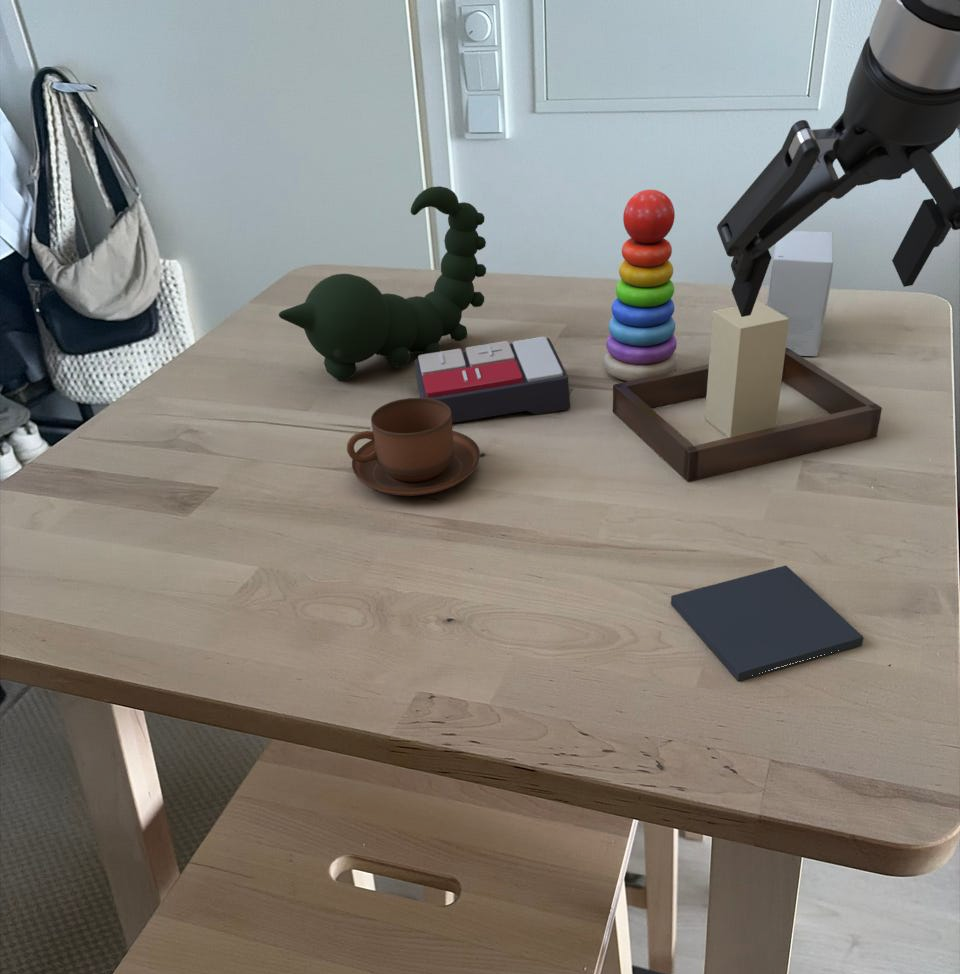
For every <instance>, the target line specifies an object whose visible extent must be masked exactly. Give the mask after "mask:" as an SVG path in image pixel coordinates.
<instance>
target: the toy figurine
mask: <svg viewBox="0 0 960 974" xmlns="http://www.w3.org/2000/svg"><path fill="white" fill-rule="evenodd" d="M430 207H431V208H435V209H436V210H437V211H438V212H440V213H442V214H444V215H448V216H447V222H448V223H447V224H448V226H449V228H448V229H447V230H446V233H445V235H444V240H443V242H444V246H445V247H444V248H445V250H446V252H445V253H444V255H443V257H442V258H441V261H440V272H441V273H440V275H439V276H438V278H437V279H436V281H435V283H434V286H433V291H429V292H428V293H427V294H425V296H419V295H418V296H417V295H415V296H409V297H406V298H405V297H403V296H401V295H398V294H396V293H388V292H387V293H382V292H381V290H379V288H378V287H377V286H376V285H375V284H373V283H372V282H370V280H369V279H366V278H364V277H362V276H359V275H356V274H351V273H337V274H332V275H330V276H328V277H325V278H324V279H322V280H320V281H319V282H318V283H317V284H316V285H315V286H314V287H313V288H312V289H311V290H310V291H309V293H308V295H307V297H306V299H305V301H304V302H302V303H300V304H297V305H295V306H292V307H289V308H286V309H284V310H281V311H280V312H279V313H278V317H279V318H281V320H283V321H286V322H288V323H290V324H293V325H295V326H296V327H299V328H301V329H303V330H304V333H305V335H306V338H307V340H308V341H309V342H308V343H310V345H311V346H312V348H314V350H315V351H316V352H317V353H319V355H320V356H322V357H324V362H323V365H324V367H325V370H326V372H327V373H328V374H329V375H331V376H332V377H333V378H334V379H336V380H340V381H348V380H350V379H352V377H353V376H354V375H355V374H356V372H357V365H356V364H357V363H362V362H365V361H367V360H369V359H370V358H372V357H373V356H374V355H377V356H382V357H387V358H386V359H387V361H388V364H390V365H392V366H394V367H396V368H402V367H404V366H407V365H408V363H409V361H410V358H411V355H410V352H412V353H419V354H420V353H422V355H423V354H429V353H435V352H441V347H440V345H439V342H440V341H441V340H442V338H443V337H446V336H450V339H451V340H453V341H455V342H459V343H461V342H463V341H464V340H465V339H467V337H468V329H467V326H465V325H463V324H461V323H460V322H461V320H462V316H463V311H465V310H466V309H468V308H469V306H470V305H471V306H472V307H473V308H481V307H482V306H483V305H484V303H485V296H484V295H483V293H482V292H481V291H475V286H474V283H473V281H474V280H476V278H482V277H485V275H486V274H487V267H486V266H485V264H483V263H478V259H477V257H476V254H477V253H478V251H481V250H483V249H484V248H485V247H486V246H487V241H486V239H485V237H484V236H481V235H479V233H478V231H477V229H478V227H479V226H482V225H483V224H484V223H485V218H486V217H485V215H484V214H483V213H482V212H479V211H478V209H477V208H476V207H475V206H474V205H473V204H471V203H469V202H466V201H465V202H464V201H463V202H462V201H461V202H459V198H458V196H457V195H456V193H455V192H454V191H453V190H452V189H450V188H448V187H445V186H442V185H439V186H430V187H427V188H425V189H423V190H422V191H420V193H419V194H418V195H417V196H416V197H415V199H414V200H413V203H412V204H411V207H410V214H411V216H416V215H417V214H419V213H420V212H421V211H422V210H424V209H425V208H430Z"/></svg>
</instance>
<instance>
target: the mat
mask: <svg viewBox="0 0 960 974" xmlns="http://www.w3.org/2000/svg"><path fill="white" fill-rule="evenodd" d="M670 605H671V606H672V607H673V608H674V610H675V611H676V612H677V613H678V614H679V615H680V616H681V618H682V619H683V620H684V621H685V622H686V623H687V625H688V626H689V627H690V628H691V629H692V630H693V631H694V633H695V634H696V635H697V636H698V637H699V638H700V639H701V641H702V642H703V643H704V644H705V645H706V647H707V648H709V650H710V651H711V652H712V653H713V654H714V655H715V656H716V658H717V659H718V660H719V661H720V663H721V664H722V665H723V666H724V667H725V668H726V670H728V672H729V673H730V674H731V675H732V676H733V677H734V678H735V680H736V681H737V682H741V681H745V680H748V679H751V678H754V677H755V678H756V677H758V676H762V675H765V674H768V673H771V672H775V671H780V670H783V669H786V668H789V667H792V666H796V665H799V664H800V665H801V664H803V663H807V662H811V661H814V660H816V659H821V658H824V657H827V656H830V655H831V656H832V655H833V654H834V655H835V654H838V653H841V652H844V651H848V650H851V649H854V648H858V647H861V646H863V642H864V636H863V635H862V634H861V633H860V632H859V631H858V630H857V629H856V628H855V627H854V626H853V625H851V623H849V621H847V620H846V619H845V618H844V617H843V616H842V615H841V614H840V613H838V612H837V611H836V610H835V609H834V608H833V607H832V606H831V605H830V604H829V603H828V602H826V601H825V600H824V599H823V598H822V597H821V596H820V595H819V594H818V593H817V592H816V591H815V590H813V589H812V587H810V586H809V585H808V584H807V583H806V582H805V581H804V580H803V579H801V577H799V575H797V574H796V573H795V572H794V571H793V570H792V569H791V568H790V567H788V565H781V566H778V567H775V568H770V569H767V570H763V571H760V572H756V573H752V574H748V575H744V576H740V577H737V578H733V579H730V580H725V581H722V582H718V583H714V584H710V585H707V586H703V587H699V588H695V589H692V590H688V591H685V592H684V591H683V592H680V593H676V594H673V595H671V596H670ZM838 650H839V651H838ZM831 652H832V653H831ZM824 654H825V655H824ZM820 655H822V656H820ZM817 656H818V657H817ZM813 657H815V658H813ZM809 658H811V659H809ZM807 659H808V660H807ZM802 660H804V661H802ZM797 661H798V662H797ZM799 661H801V662H799ZM795 662H797V663H795ZM790 663H791V665H789V664H790ZM792 663H794V664H792ZM787 664H788V665H787ZM784 665H787V666H784ZM781 666H784V667H781ZM776 667H780V668H777V669H774V668H776ZM771 669H773V670H771ZM768 670H770V671H768ZM765 671H766V672H765ZM762 672H763V673H762ZM759 673H760V674H759ZM752 675H753V676H752Z"/></svg>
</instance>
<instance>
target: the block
mask: <svg viewBox="0 0 960 974" xmlns="http://www.w3.org/2000/svg"><path fill="white" fill-rule="evenodd" d="M711 319H712V321H711V334H710V346H709V359H708V364H709V370H708V383H707V396H705V397H706V399H705V412H704V419H705V421H707V422H708V423H709V424H711V426H712V427H714V428H715V429H717V431H719V432H721V433H722V434H723V435H724V436H725V437H726V438H730V437H734V436H738V435H743V434H747V433H751V432H756V431H760V430H764V429H769V428H773V427H777V421H778V412H779V404H780V398H781V397H780V396H781V389H782V382H783V381H782V373H783V365H784V357H785V349H786V341H787V333H788V325H789V318H787V317H786V316H784V315H782V314H780V313H779V312H777V311H775V310H774V309H772V308H770V307H769V306H767V305H766V304H765V303H764V302H762V301H756V302H755V304H754V307H753V310H752V313H751V315H750V316H744V317H741V314H740V312H739V309H738V306H737V305H736V306H730V307H724V308H721V309H715V310H713V311H712V318H711Z"/></svg>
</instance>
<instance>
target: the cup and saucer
mask: <svg viewBox="0 0 960 974" xmlns="http://www.w3.org/2000/svg"><path fill="white" fill-rule="evenodd" d="M370 422H371V429H372V430H363V431H359V432H357V433H354V434H353V435H352V436H351V437H350V438H349V440H348V441H347V443H346V452H347V454H348V456H349V457H350V458H351V467H352V472H353V473H354V475H355V477H356V478H357V479H358V481H359V482H361V483H362V484H364V485H365V486H367V487H369V489H370V488H371V489H372V490H374V491H377V492H380V493H383V494H389V495H393V496H400V497H401V496H405V497H410V496H415V497H416V496H424V495H429V494H434V493H438V492H442V491H444V490H447V489H450V488H452V487H455V486H456V485H458V484H460V483H462V482H463V481H465V480H466V479H467V478H468V477H469V476H470V475H471V474H472V473H473V472H474V471H475V470H476V469H477V467H478V465H479V461H480V457H481V450H480V447H479V445H478V444H477V442H475V441H474V439H472V438H471V437H470V436H468V435H466V434H464V433H461V432H459V431H456V430H453V423H452V415H451V410H450V408H449V407H448V406H447V405H446V404H445V403H443V402H441V401H438V400H434V399H429V398H421V397H409V398H402V399H397V400H394V401H391V402H387V403H385V404H383V405H381V406H379V407H378V408H377V409H375V410H374V412H373V413H372V415H371V417H370ZM363 439H364V440H365V439H366V440H369V441H367V442H366V443H365V444H363V445H362V446H361V447H360V448H358V450H355V445H356V443H357V442H358V441H360V440H363Z"/></svg>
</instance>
